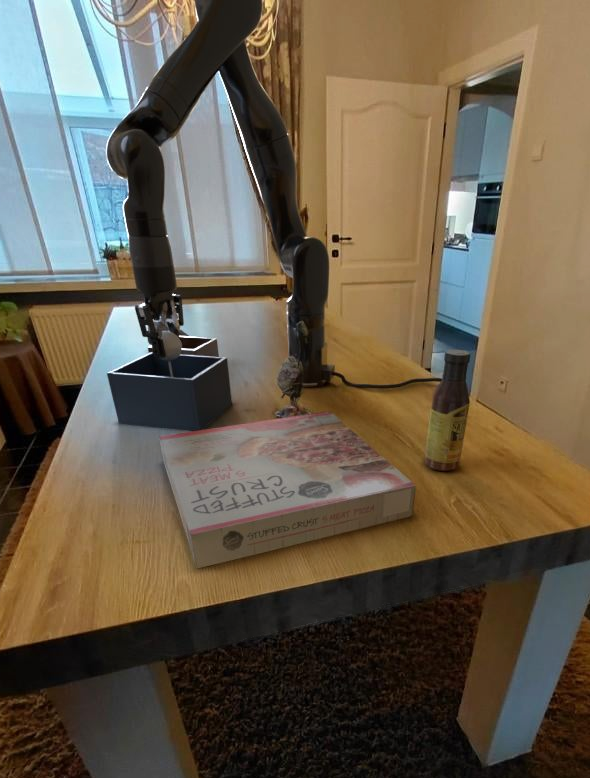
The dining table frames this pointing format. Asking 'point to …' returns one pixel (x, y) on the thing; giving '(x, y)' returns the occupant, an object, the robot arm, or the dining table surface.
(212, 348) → the basket
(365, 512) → the pizza box
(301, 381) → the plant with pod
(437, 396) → the sauce bottle
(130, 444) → the dining table surface
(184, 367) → the bin
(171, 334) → the lollipop
